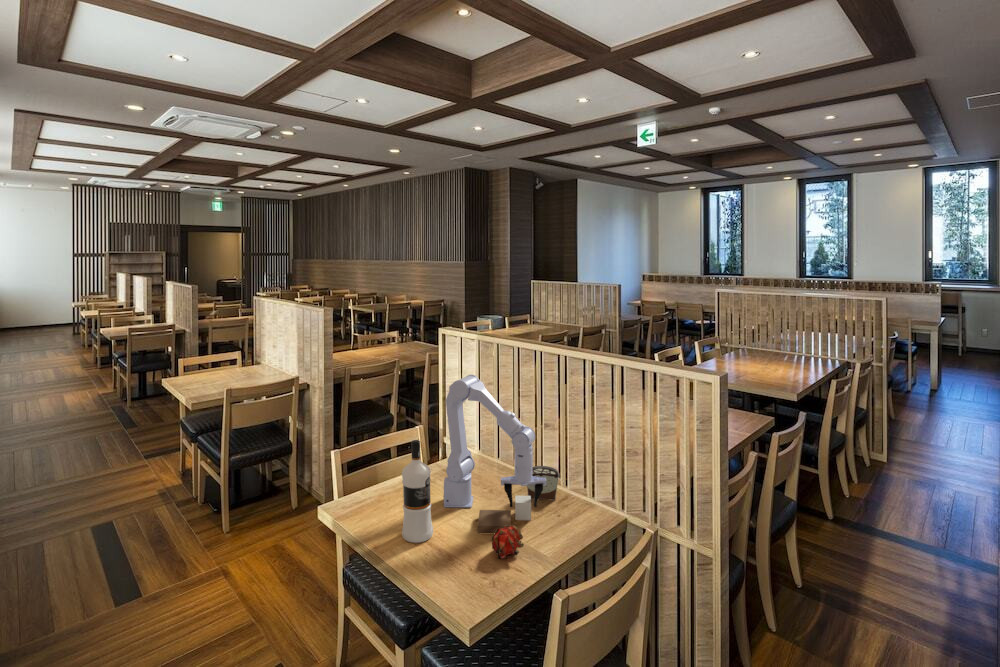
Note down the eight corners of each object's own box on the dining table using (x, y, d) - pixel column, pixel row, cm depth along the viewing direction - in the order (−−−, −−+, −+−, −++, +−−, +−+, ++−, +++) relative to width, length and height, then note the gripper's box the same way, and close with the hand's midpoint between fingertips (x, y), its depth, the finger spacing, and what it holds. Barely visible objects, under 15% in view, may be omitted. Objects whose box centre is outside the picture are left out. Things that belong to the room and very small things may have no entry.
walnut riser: (477, 534, 164) (477, 525, 163) (479, 518, 174) (479, 509, 173) (510, 535, 163) (510, 526, 163) (510, 518, 173) (510, 510, 173)
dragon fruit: (518, 547, 159) (501, 575, 148) (496, 528, 160) (478, 553, 150) (533, 532, 155) (516, 558, 144) (510, 511, 156) (492, 537, 146)
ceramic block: (515, 520, 172) (515, 502, 171) (515, 512, 177) (515, 495, 176) (530, 520, 172) (531, 502, 171) (530, 512, 177) (530, 495, 176)
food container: (559, 492, 191) (560, 465, 190) (559, 500, 185) (560, 473, 184) (524, 490, 192) (525, 464, 191) (524, 498, 186) (524, 471, 185)
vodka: (414, 525, 168) (412, 433, 164) (439, 532, 164) (437, 438, 159) (395, 539, 160) (393, 443, 155) (420, 547, 156) (418, 448, 151)
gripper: (500, 470, 168) (500, 511, 170) (547, 470, 167) (546, 511, 169) (501, 461, 175) (501, 501, 177) (545, 462, 174) (545, 501, 176)
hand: (523, 505), depth 174 cm, fingers open, 7 cm apart
